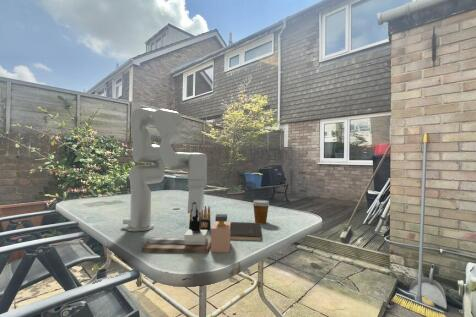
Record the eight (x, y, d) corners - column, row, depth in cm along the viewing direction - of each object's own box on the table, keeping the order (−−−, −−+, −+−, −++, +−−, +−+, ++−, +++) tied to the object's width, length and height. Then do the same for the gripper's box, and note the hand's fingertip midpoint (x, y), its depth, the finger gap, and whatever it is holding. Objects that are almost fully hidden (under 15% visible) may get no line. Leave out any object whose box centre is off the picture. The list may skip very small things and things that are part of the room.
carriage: (184, 245, 92) (184, 216, 92) (188, 239, 99) (188, 212, 99) (204, 245, 92) (205, 217, 92) (207, 239, 99) (207, 213, 99)
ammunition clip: (188, 229, 119) (189, 205, 119) (189, 228, 120) (190, 205, 121) (210, 230, 118) (210, 206, 118) (210, 229, 120) (211, 205, 120)
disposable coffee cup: (249, 220, 137) (249, 200, 138) (263, 219, 141) (263, 199, 142) (257, 225, 129) (257, 203, 129) (272, 223, 133) (272, 202, 133)
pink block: (210, 252, 90) (211, 228, 90) (213, 242, 100) (214, 221, 100) (229, 252, 90) (229, 228, 90) (230, 243, 100) (230, 221, 100)
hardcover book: (259, 227, 127) (259, 222, 127) (261, 241, 104) (261, 236, 104) (230, 226, 128) (230, 221, 128) (225, 240, 105) (225, 235, 105)
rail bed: (141, 251, 89) (141, 243, 89) (153, 240, 101) (153, 233, 101) (207, 253, 89) (207, 245, 89) (211, 242, 101) (211, 234, 101)
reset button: (215, 230, 93) (215, 216, 93) (216, 227, 98) (216, 214, 98) (226, 230, 93) (226, 216, 93) (227, 227, 97) (227, 214, 98)
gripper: (192, 181, 104) (191, 223, 104) (183, 185, 87) (182, 235, 87) (209, 182, 104) (208, 224, 104) (203, 186, 87) (202, 236, 87)
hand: (196, 228), depth 95 cm, fingers closed on carriage, 3 cm apart
